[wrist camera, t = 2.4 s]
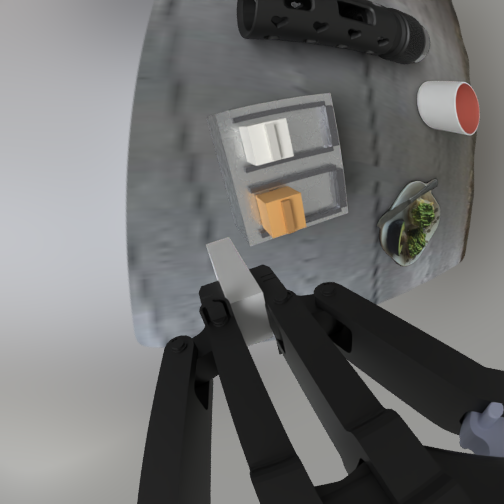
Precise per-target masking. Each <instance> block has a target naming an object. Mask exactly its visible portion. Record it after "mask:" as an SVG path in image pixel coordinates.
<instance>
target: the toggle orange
mask: <svg viewBox="0 0 504 504" xmlns="http://www.w3.org/2000/svg"><path fill="white" fill-rule="evenodd" d="M256 200H257V204H258V208H259V212H260V216H261V221H262V225H263V228H264V229H265V230H266V231H267V232H268V233H269V234H270V235H271V237H272V238H276V237H278V236H281V235H284V234H287V233H288V234H290V233H293V232H295V231H296V230H299V229H302V228H305V227H306V221H305V215H304V209H303V203H302V197H301V193H300V192H298V191H296V190H294V189H293V188H291V187H289V186H286V187H283V188H279V189H276V190H273V191H269V192H266V193H263V194H259V195H256Z"/></svg>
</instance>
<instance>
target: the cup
mask: <svg viewBox="0 0 504 504" xmlns="http://www.w3.org/2000/svg"><path fill="white" fill-rule="evenodd" d="M417 106H418V111H419V114H420V116H421V118H422V120H423V121H424V122H425V123H426V124H427V125H428V126H429V127H431V128H433V129H438V130H444V131H449V132H455V133H460V134H465V135H472V134H474V133H475V132H476V130H477V128H478V125H479V119H480V109H479V103H478V99H477V96H476V94H475V91H474V90H473V88H472V87H471V86H470V85H469V84H468V83H466V82H459V81H426V82H424V83H423V84H422V85H421V86H420V88H419V90H418V93H417Z"/></svg>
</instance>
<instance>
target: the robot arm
mask: <svg viewBox="0 0 504 504" xmlns="http://www.w3.org/2000/svg"><path fill="white" fill-rule="evenodd" d="M206 247H207V250H208V253H209V256H210V259H211V262H212V265H213V268H214V271H215V274H216V277H217V280H218V281H216V282H213V283H210V284H207V285H204V286H201V288H200V291H199V296H200V299H201V304H202V305H201V307H200V311H199V312H200V314H201V317H202V319H203V321H204V324H205V328H204V329H203V331H202V332H201V333H200V334H198V335H197V336H195V337H193V338H191V337H189V336H178V337H175V338H173V339H171V340H170V341H169V342H168V343H167V344H166V347H165V349H164V353H163V358H162V363H161V367H160V372H159V376H158V381H157V386H156V390H155V395H154V400H153V405H152V410H151V416H150V421H149V427H148V432H147V438H146V444H145V451H144V457H143V463H142V470H141V478H140V485H139V493H138V502H137V504H210V486H211V485H210V482H211V476H210V475H211V429H212V428H211V427H212V400H213V378H214V377H215V376H217V375H219V377H220V380H221V383H222V387H223V390H224V393H225V396H226V400H227V403H228V406H229V410H230V413H231V416H232V419H233V422H234V425H235V428H236V431H237V434H238V436H239V440H240V443H241V446H242V448H243V451H244V454H245V457H246V460H247V462H248V465H249V468H250V477H251V481H252V483H253V486H254V489H255V491H256V494H257V497H258V499H259V502H260V504H504V371H501V370H496V369H491V368H486V367H484V366H482V365H480V364H478V363H477V362H475V361H474V360H472V359H470V358H468V357H467V356H465V355H463V354H461V353H460V352H458V351H456V350H455V349H453V348H451V347H449V346H448V345H446V344H444V343H443V342H441V341H439V340H437V339H436V338H434V337H432V336H430V335H429V334H427V333H425V332H423V331H422V330H420V329H418V328H416V327H415V326H413V325H411V324H409V323H408V322H406V321H404V320H402V319H401V318H399V317H397V316H395V315H393V314H392V313H390V312H388V311H386V310H385V309H383V308H381V307H379V306H377V305H376V304H374V303H372V302H370V301H369V300H367V299H365V298H363V297H361V296H360V295H358V294H356V293H354V292H352V291H351V290H349V289H347V288H345V287H343V286H342V285H340V284H337V283H335V282H326V283H322V284H320V285H318V286H317V287H316V288H315V290H314V294H311V295H304V296H298V295H296V294H295V293H294V292H292V291H290V290H287V289H286V288H285V287H284V285H283V284H282V283H281V282H280V280H279V279H278V278H277V276H276V275H275V274H274V272H273V271H272V270H271V268H270V267H267V266H265V265H260V266H258V267H255V268H252V269H248V267H247V266H246V264H245V263H244V261H243V259H242V258H241V256H240V254H239V253H238V251H237V249H236V248H235V246H234V244H233V243H232V241H231V240H230V238H229V237H227V238H224V239H221V240H218V241H215V242H212V243H209V244H206ZM272 331H273V333H274V335H275V337H276V341H277V346H278V350H279V354H283V356H284V357H285V359H286V361H287V363H288V365H289V366H290V368H291V370H292V372H293V374H294V375H295V377H296V379H297V381H298V383H299V384H300V386H301V388H302V390H303V391H304V393H305V395H306V397H307V399H308V400H309V402H310V404H311V405H312V407H313V409H314V411H315V413H316V414H317V416H318V418H319V420H320V421H321V423H322V425H323V427H324V428H325V430H326V432H327V433H328V435H329V437H330V439H331V440H332V442H333V443H334V446H335V447H336V449H337V451H338V452H339V454H340V456H341V458H342V461H343V463H344V466H345V469H346V471H347V473H348V476H347V477H346V478H344V479H343V480H341V481H338V482H334V483H329V484H325V485H320V486H315V487H314V486H313V484H312V482H311V480H310V478H309V476H308V474H307V472H306V470H305V468H304V466H303V464H302V462H301V460H300V459H299V457H298V456H297V454H296V452H295V450H294V448H293V446H292V444H291V442H290V440H289V438H288V436H287V434H286V432H285V430H284V428H283V425H282V423H281V421H280V419H279V417H278V415H277V412H276V410H275V408H274V406H273V404H272V402H271V399H270V397H269V395H268V393H267V391H266V388H265V386H264V384H263V382H262V379H261V377H260V375H259V373H258V370H257V368H256V366H255V364H254V361H253V359H252V357H251V355H250V352H249V350H248V346H250V345H253V344H256V343H259V342H261V341H264V340H267V339H269V338H272V337H273V333H272ZM347 360H348V361H350V362H351V363H352V364H354V365H355V366H356V367H358V368H359V369H361V370H362V371H363V372H365V373H366V374H367V375H368V376H370V377H371V378H372V379H374V380H375V381H376V382H378V383H379V384H380V385H382V386H383V387H385V388H386V389H387V390H388V391H390V392H391V393H393V394H394V395H395V396H397V397H398V398H399V399H401V400H402V401H404V402H405V403H406V404H408V405H409V406H411V407H412V408H413V409H415V410H416V411H417V412H419V413H420V414H422V415H423V416H424V417H426V418H427V419H429V420H430V421H432V422H433V423H435V424H436V425H438V426H439V427H441V428H443V429H445V430H447V431H449V432H451V433H454V434H457V435H460V446H461V447H462V448H464V449H470V450H472V451H473V452H474V454H467V453H462V452H455V451H450V450H444V449H439V448H434V447H429V446H423V445H422V444H421V442H420V441H419V440H418V438H417V437H416V436H415V435H414V433H413V432H412V431H411V429H410V428H409V427H408V426H407V424H406V423H405V422H404V420H403V419H402V418H401V417H400V415H399V414H398V413H397V412H396V411H394V410H392V409H385V408H384V407H383V406H382V405H381V404H380V402H379V401H378V400H377V399H376V397H375V396H374V395H373V393H372V392H371V391H370V389H369V388H368V387H367V385H366V384H365V383H364V382H363V380H362V379H361V378H360V376H359V375H358V374H357V372H356V371H355V370H354V369H353V367H352V366H351V365H350V363H349V362H348V361H347Z"/></svg>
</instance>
